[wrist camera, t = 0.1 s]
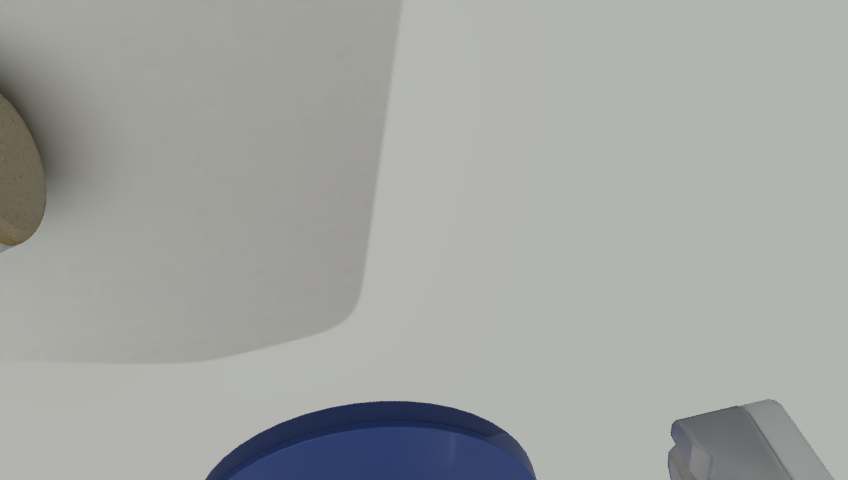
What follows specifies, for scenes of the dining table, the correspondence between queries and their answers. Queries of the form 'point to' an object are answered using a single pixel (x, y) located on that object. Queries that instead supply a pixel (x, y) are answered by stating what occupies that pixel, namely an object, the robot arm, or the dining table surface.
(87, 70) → the dining table surface
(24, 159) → the ceramic mug
